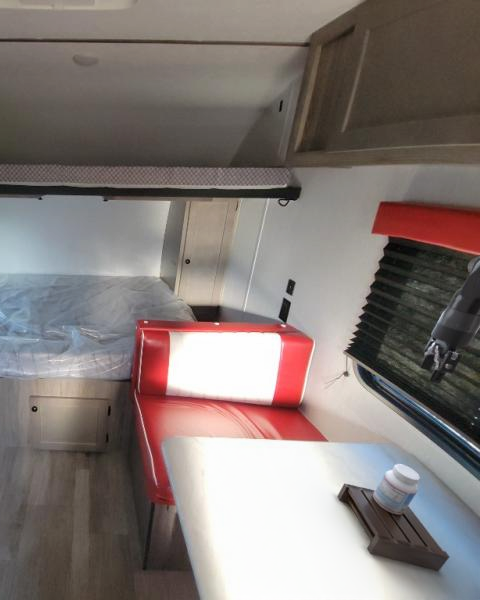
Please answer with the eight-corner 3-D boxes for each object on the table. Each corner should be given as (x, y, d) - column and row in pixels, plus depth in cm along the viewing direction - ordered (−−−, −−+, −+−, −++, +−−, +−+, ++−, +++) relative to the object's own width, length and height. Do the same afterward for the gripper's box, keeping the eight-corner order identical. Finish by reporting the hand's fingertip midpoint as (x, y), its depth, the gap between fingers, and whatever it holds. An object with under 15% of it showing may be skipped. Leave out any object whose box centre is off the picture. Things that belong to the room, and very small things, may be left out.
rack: (394, 509, 89) (402, 496, 87) (438, 571, 75) (449, 556, 73) (337, 496, 91) (344, 483, 89) (369, 553, 77) (379, 539, 75)
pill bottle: (391, 496, 87) (412, 464, 82) (409, 518, 81) (431, 485, 77) (366, 490, 87) (385, 458, 83) (382, 512, 82) (402, 479, 78)
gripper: (488, 339, 84) (455, 391, 90) (465, 321, 96) (437, 369, 101) (448, 329, 87) (419, 381, 93) (430, 313, 99) (405, 360, 105)
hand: (428, 374), depth 97 cm, fingers open, 8 cm apart
